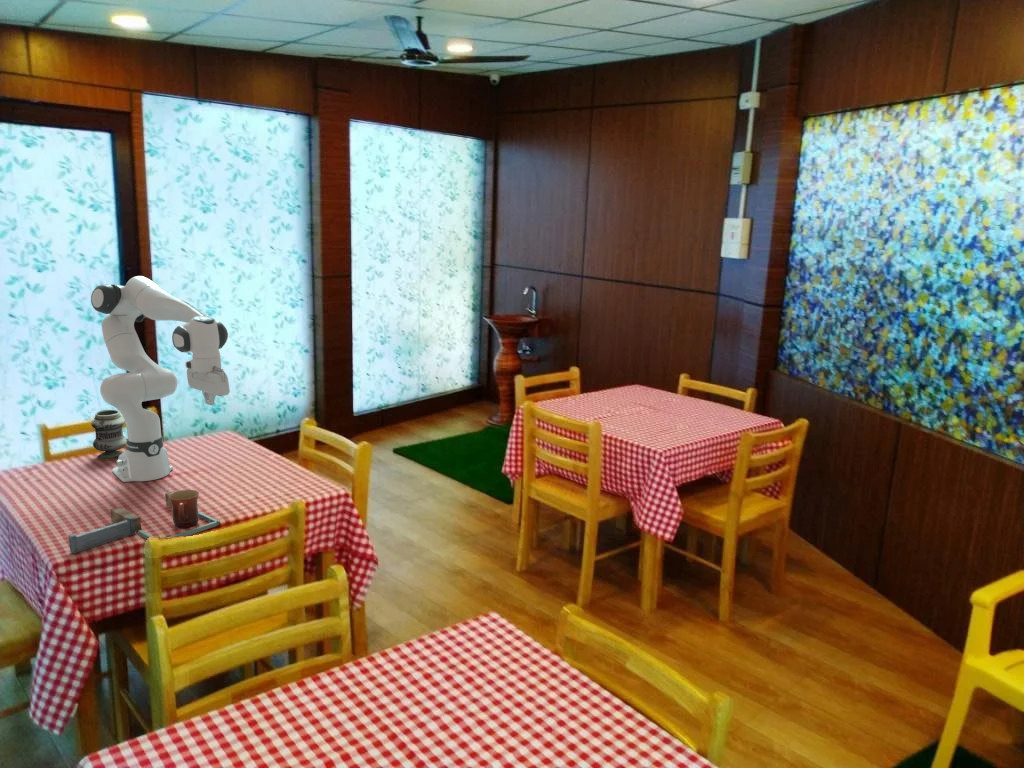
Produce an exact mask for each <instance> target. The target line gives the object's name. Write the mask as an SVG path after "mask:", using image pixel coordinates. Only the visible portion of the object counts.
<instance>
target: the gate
mask: <svg viewBox="0 0 1024 768" xmlns="http://www.w3.org/2000/svg"><path fill="white" fill-rule="evenodd" d="M136 533H137V531H135V521H134V518H133V517H131V516H129V517H127V520H125V521H122V522H118V523H112V524H109V525H106V526H102V527H100V528H99V527H98V528H96V529H92V530H89V531H86V532H83V533H79V534H74V533H70V534H68V535H67V536H68V543H69V552H70V553H71V554H78V553H79V552H82V551H85V550H87V549H89V550H90V549H91V548H94V547H98V546H100V545H103V544H107V543H110V542H113V541H117V540H119V539H124V538H126V537H130V536H135V535H136Z"/></svg>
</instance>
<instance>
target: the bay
mask: <svg viewBox="0 0 1024 768" xmlns="http://www.w3.org/2000/svg"><path fill="white" fill-rule="evenodd" d="M198 516H199V518H200V519H202V518H203V519H202V520H204V521H207V522H209V523H207V524H203V525H200V526H198V527H193V528H190V529H189V530H188V529H187V530H186V531H183V532H179V533H176V534H174V535H173V534H172V535H170V536H167V537H166V538H172V537H179V536H186V537H188V536H187V535H189V536H191V535H194V534H198V533H200V532H203V531H207V530H208V529H211V528H214V527H218V526H220V525H221V521H220V520H219V519H217V518H215V517H212V516H210V515H207V514H205V513H203V512H201V511H198ZM137 533H138V535H139V536H140V537H142V538H145V539H146V538H149V537H155V535H152V534H150V533H148V532H146V531H144V530H143V529H141V530H138V531H137Z"/></svg>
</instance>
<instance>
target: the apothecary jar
mask: <svg viewBox="0 0 1024 768" xmlns="http://www.w3.org/2000/svg"><path fill="white" fill-rule="evenodd" d="M124 424H126V423H125V419H124V417H123V415H122V414H121V412H120V411H119V410H118V409H103V410H98V411H96V412H95V413H94V418H92V420H91V422H90V425H91V427H92V428H93V429H94V431H95V439H94V440H93V442H92V447H93V448H94V449H95V450H97V451H101V453H100V454H98V455H97V459H98V460H102V461H113V460H116V459H117V460H118V458H119V456H120V455H121V454H122V453H123V452H124V451H120V450H121V449H123V448H124V447H126V443H127V442H126V441H127V440H126V439H128V437H126V436H125V435H124V433H123V426H124Z"/></svg>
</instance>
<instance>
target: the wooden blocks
mask: <svg viewBox="0 0 1024 768" xmlns="http://www.w3.org/2000/svg"><path fill="white" fill-rule="evenodd" d="M173 492H176V491H175V490H173V491H170V492H166V493H165V497H164V498H165V505H166V506H167V507H170V508H172V504H171V502H170V500H169V495H170V494H171V493H173ZM129 516H131V517H133V518H134V521H135V531H136V532H138V531H139V530H143V528H142V519H141V516H139V515H136V514H135V513H133V512H131V511H130V510H128V509H125V508H124V507H121V506H118V507H114V508H111V509H110V518H111V522H112V523H113V524H115V523H118V522H122V521H125V520H127V517H129Z"/></svg>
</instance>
